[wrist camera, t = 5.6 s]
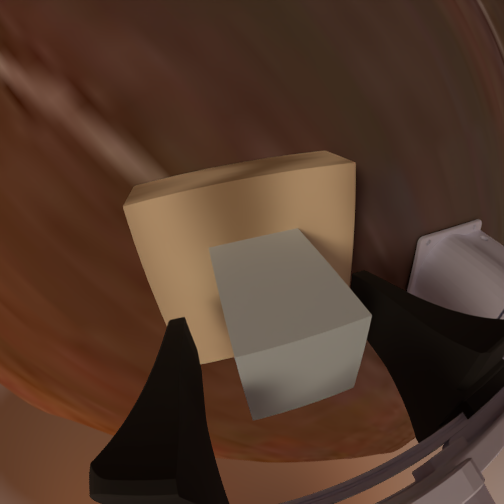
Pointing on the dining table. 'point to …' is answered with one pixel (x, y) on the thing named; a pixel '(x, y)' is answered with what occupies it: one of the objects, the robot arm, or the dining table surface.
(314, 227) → the maple pedestal
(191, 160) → the dining table surface
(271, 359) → the gray block
